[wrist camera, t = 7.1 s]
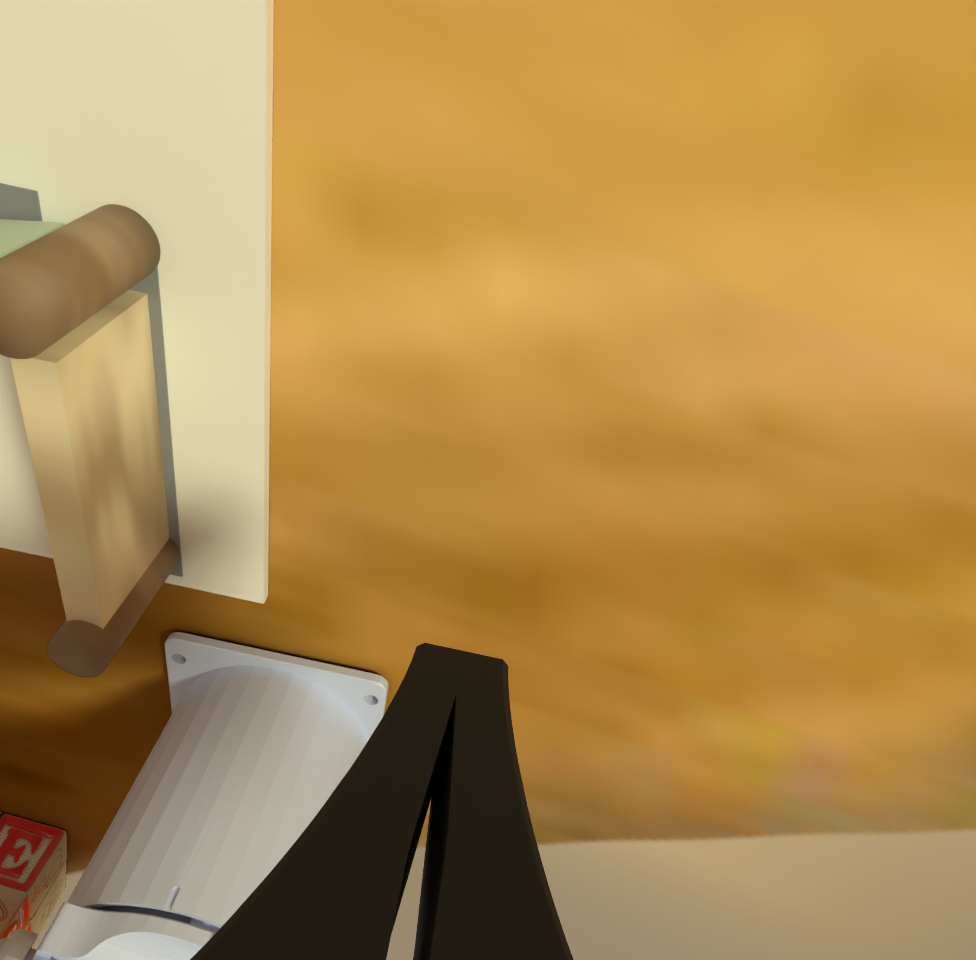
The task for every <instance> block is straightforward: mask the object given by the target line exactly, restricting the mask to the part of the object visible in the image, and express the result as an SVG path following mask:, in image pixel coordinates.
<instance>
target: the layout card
mask: <svg viewBox="0 0 976 960" xmlns="http://www.w3.org/2000/svg"><path fill="white" fill-rule="evenodd" d="M273 8H274V0H0V219H5V220H25V221H44V222H64V224H65V225H66V224H68V223H70V222H72V221H74V220H76V219H78V218H80V217H82V216H83V215H85V214H87V213H89V212H91V211H93V210H95V209H97V208H99V207H101V206H104V205H108V204H117V205H122V206H126V207H128V208H130V209H132V210H134V211H136V212H137V213H138V214H140V215H141V216H142V217H143V218H144V219H145V220H146V221H147V222H148V223H149V224H150V225H151V227H152V228H153V230H154V232H155V234H156V235H157V238H158V241H159V244H160V261H159V264H158V265H157V266H156V268H155V270H154V271H153V272H152V273H151V274H150V275H148V276H147V277H145V278H144V279H143V280H141V281H140V282H138V283H137V284H136V285H134V286H133V287H132V288H130V289H129V290H132V291H137V292H141V293H146V294H147V296H148V307H149V318H150V328H151V339H152V350H153V361H154V372H155V383H156V394H157V405H158V416H159V427H160V438H161V449H162V459H163V470H164V481H165V492H166V503H167V514H168V525H169V536H170V538H171V539H172V540H173V541H174V542H175V544H176V545H177V546H178V548H179V551H180V560H179V562H178V563H177V565H176V566H175V568H174V569H173V571H172V572H171V573H170V575H169V576H168V578H167V579H166V581H165V582H164V583H169V584H174V585H178V586H183V587H188V588H192V589H197V590H202V591H206V592H211V593H216V594H220V595H225V596H230V597H234V598H239V599H244V600H248V601H253V602H258V603H262V604H264V602H265V600H266V598H267V596H268V532H269V428H270V323H271V218H272V113H273ZM0 547H1V548H6V549H11V550H15V551H20V552H25V553H29V554H34V555H39V556H43V557H48V558H53V555H52V550H51V545H50V541H49V536H48V531H47V527H46V522H45V518H44V513H43V508H42V504H41V499H40V494H39V490H38V485H37V480H36V476H35V471H34V466H33V462H32V457H31V453H30V448H29V443H28V439H27V434H26V429H25V425H24V420H23V415H22V411H21V406H20V401H19V397H18V392H17V388H16V383H15V378H14V374H13V369H12V364H11V360H10V357H6V356H3V355H1V354H0Z"/></svg>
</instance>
